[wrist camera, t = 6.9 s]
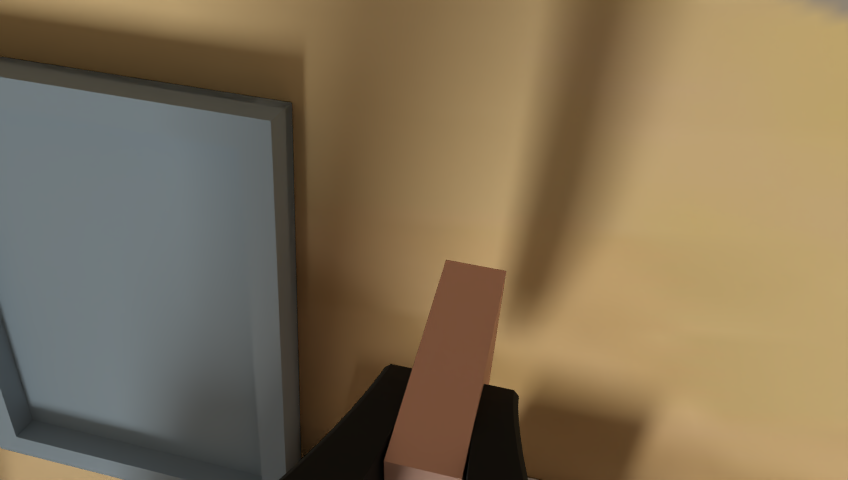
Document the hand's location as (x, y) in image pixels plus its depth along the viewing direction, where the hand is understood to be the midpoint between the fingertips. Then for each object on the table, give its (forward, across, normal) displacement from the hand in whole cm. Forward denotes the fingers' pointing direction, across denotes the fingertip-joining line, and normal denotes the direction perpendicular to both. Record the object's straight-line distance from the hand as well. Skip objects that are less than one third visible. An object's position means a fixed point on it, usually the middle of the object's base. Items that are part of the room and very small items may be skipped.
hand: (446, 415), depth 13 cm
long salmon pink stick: (+3, 0, +3) cm, 4 cm away
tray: (+9, +13, +6) cm, 17 cm away
